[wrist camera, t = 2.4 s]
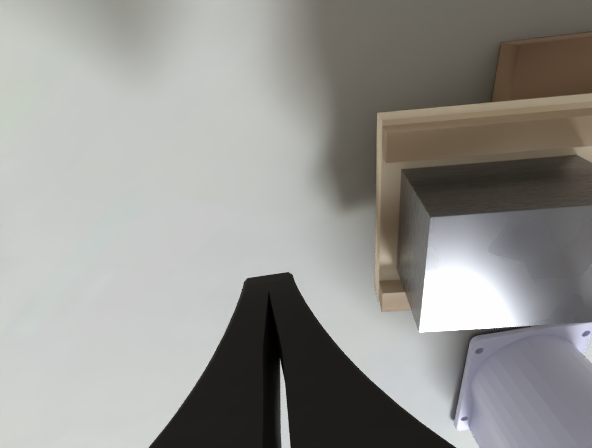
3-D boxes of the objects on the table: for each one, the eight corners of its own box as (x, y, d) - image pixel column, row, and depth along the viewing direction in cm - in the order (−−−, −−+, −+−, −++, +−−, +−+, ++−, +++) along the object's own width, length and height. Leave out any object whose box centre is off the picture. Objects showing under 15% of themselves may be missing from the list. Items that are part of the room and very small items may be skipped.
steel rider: (546, 258, 15) (607, 321, 12) (396, 268, 16) (419, 331, 13) (577, 154, 13) (660, 200, 10) (401, 169, 13) (430, 217, 10)
